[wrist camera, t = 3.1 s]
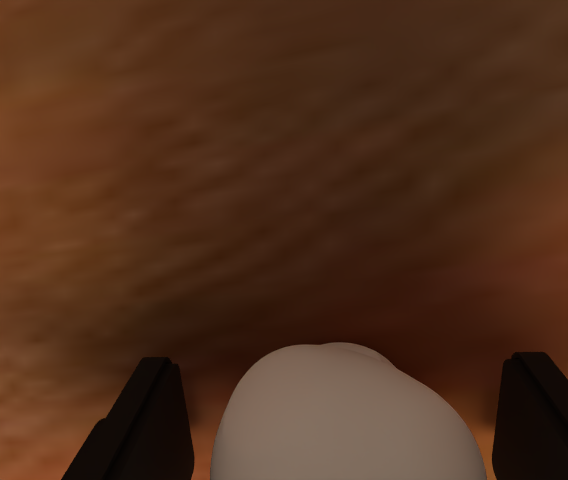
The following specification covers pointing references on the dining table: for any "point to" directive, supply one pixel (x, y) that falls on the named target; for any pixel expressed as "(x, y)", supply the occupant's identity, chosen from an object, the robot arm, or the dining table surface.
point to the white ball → (339, 422)
